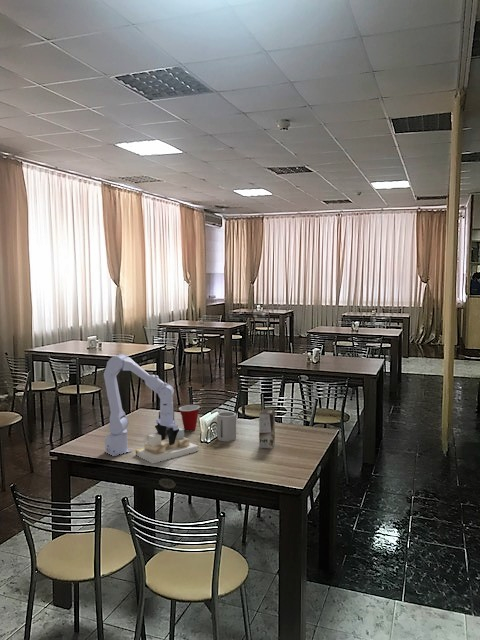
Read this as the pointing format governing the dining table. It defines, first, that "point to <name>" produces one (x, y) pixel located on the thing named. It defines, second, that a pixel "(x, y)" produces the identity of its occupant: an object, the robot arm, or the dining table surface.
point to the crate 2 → (180, 434)
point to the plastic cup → (189, 416)
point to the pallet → (166, 446)
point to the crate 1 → (154, 439)
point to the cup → (226, 426)
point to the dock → (166, 453)
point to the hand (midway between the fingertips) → (167, 442)
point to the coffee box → (266, 428)
